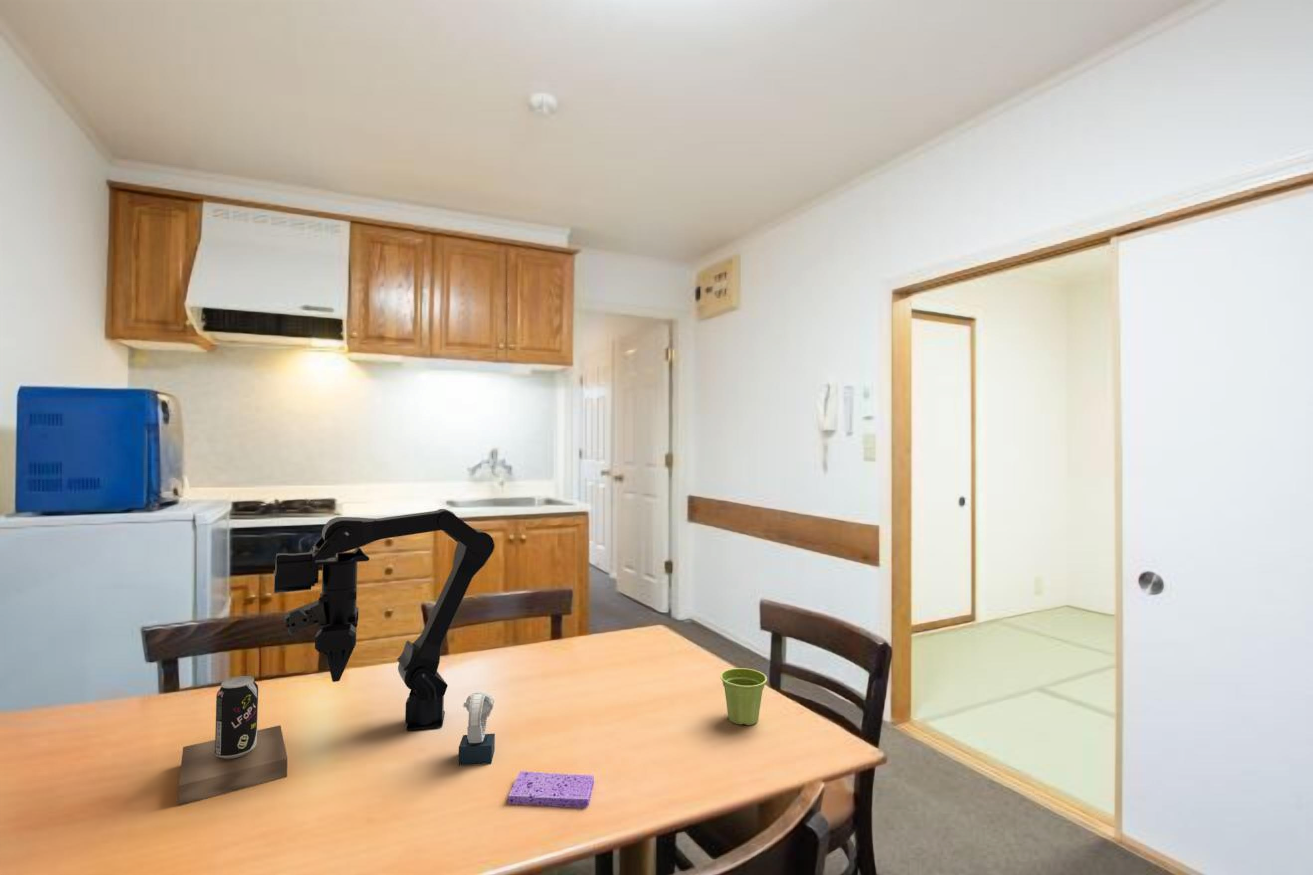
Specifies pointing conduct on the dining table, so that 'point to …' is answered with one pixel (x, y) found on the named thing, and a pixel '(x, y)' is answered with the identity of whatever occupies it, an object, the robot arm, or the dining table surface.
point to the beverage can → (236, 717)
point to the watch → (477, 731)
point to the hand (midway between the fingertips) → (337, 672)
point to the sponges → (552, 789)
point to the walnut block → (231, 767)
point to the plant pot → (743, 694)
